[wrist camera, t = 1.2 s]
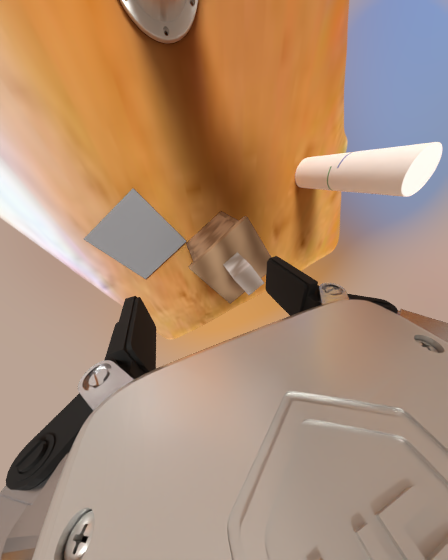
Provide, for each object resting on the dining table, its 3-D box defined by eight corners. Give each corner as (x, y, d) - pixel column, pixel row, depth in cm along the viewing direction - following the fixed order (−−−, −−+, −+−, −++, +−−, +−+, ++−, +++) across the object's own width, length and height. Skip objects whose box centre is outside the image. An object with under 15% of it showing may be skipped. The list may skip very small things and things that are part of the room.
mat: (133, 188, 34) (132, 188, 34) (186, 240, 44) (186, 241, 43) (84, 238, 36) (83, 239, 35) (145, 278, 45) (145, 279, 45)
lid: (244, 215, 31) (264, 224, 25) (273, 263, 40) (292, 277, 34) (188, 266, 32) (195, 285, 27) (228, 300, 42) (239, 320, 36)
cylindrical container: (320, 166, 45) (445, 160, 26) (305, 192, 48) (407, 204, 28) (306, 151, 42) (438, 129, 22) (290, 179, 44) (396, 182, 25)
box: (221, 210, 43) (243, 223, 32) (244, 244, 50) (268, 263, 39) (186, 243, 44) (195, 265, 33) (214, 270, 52) (229, 296, 41)
